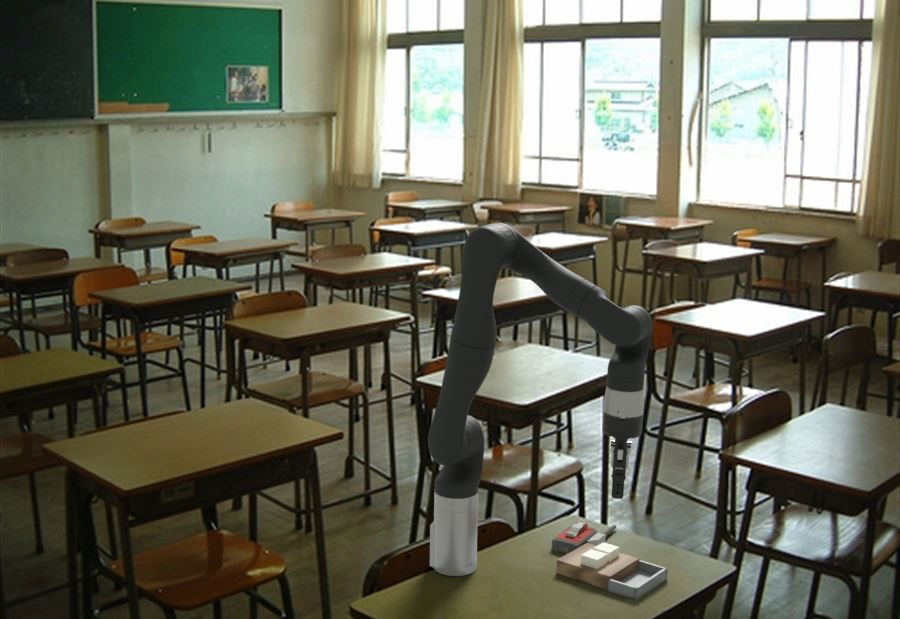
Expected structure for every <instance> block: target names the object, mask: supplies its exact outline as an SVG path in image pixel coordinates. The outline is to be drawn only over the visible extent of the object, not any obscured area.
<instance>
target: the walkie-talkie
mask: <svg viewBox="0 0 900 619" xmlns="http://www.w3.org/2000/svg"><path fill="white" fill-rule="evenodd" d="M616 528H617V525H616V524H613V525H611V526H610V527H609V528H607V530H605V531H604V532H601V533H600V532H598V530H597V529H595V528H594V527H590V526H588V523H585V522H580V521H577V522H575V523H574V524H571V525H570V526H568V527H567V528H566V529H565V530H563V531H562V532H561V533H559V534H557V536H555V537H553V538H552V539H551V550H552V549H553V550H556V551H555V552H557V551H559V552H558V553H561V552H563V553H562V554H565V553H570V552H572V551H574V550H575V549H577V548H579V547H581V546H582V545H584V544H586V543H589V544H592V545H595V546H598V545H599V544H601V543H603V542H604V543H607V542H606V540H607V539H606V538H607V537H608V536H609V535H610V534H612V533H613V531H614V530H616ZM553 550H552V551H553Z"/></svg>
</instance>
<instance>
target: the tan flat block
mask: <svg viewBox="0 0 900 619" xmlns="http://www.w3.org/2000/svg"><path fill="white" fill-rule="evenodd" d="M594 547H596V546H595V545H592V544H589V543H586V544H584V545H582V546H581V547H579V548H577V549H575V550H574V551H572V552H570V553H568V554H564V555H563V556H561V557H560V558H557V560H556V574H558V575H561V576H565V577H567V578H570V579H574V580H577V581H580V582H583V583H586V584H589V585H592V586H595V587H598V588H601V589H604V590H607V591H608V585H609V579H613V580H616V581H619V582H620V581H621V580H623V579H625V578H626V577H628V576H629V575H631V574H632V573H634V572H636V571H637V570H638V567H639V561H640V558H639V557H634V556H632V555H628V554H625V553H623V552H622V553H621V552H619V556H618V557H616V558H615V559H613V560H611V561H610V562H609V561H607V563H606V564H605V565H603V566H601V567H600V568H598V569H595V568H592V567H589V566H586V565H583V564H581V555H582V554H584V553H585V552H587V551H589V550H591V549H592V550H594Z"/></svg>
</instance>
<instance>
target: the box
mask: <svg viewBox="0 0 900 619" xmlns="http://www.w3.org/2000/svg"><path fill="white" fill-rule="evenodd" d="M667 580H668V567H664V566H661V565H658V564H654V563H651V562H647V561H645V560H640V559H639V567H638V570H637V571H636V572H634V573H632V574H631V575H629V576H628V577H626V578H625V579H623V580H621V581H620V582H619V581H616V580H613V579H609V585H608V590H607V591H608V592H610V593H613V594H616V595H619V596H622V597H625V598H629V599H632V600H634V601H638V600H639V599H640V598H642V597H643V596H644V595H646V594H648V593H649V592H650V591H652V590H653V589H655V588H657V587H658V586H660V585H661V584H662V583H664V582H665V581H667Z"/></svg>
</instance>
